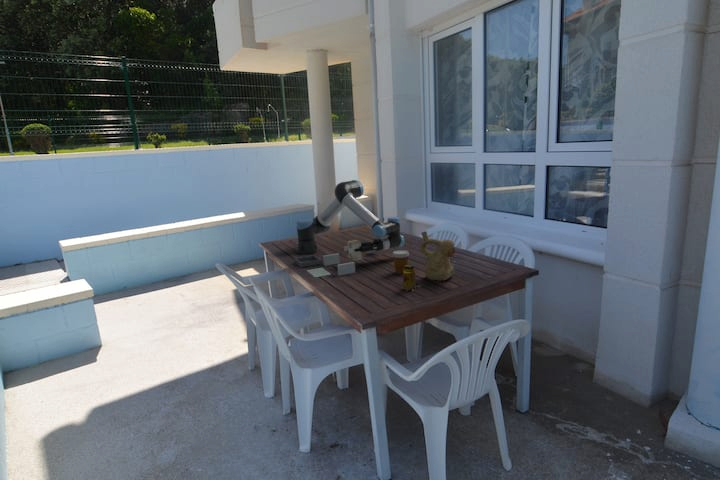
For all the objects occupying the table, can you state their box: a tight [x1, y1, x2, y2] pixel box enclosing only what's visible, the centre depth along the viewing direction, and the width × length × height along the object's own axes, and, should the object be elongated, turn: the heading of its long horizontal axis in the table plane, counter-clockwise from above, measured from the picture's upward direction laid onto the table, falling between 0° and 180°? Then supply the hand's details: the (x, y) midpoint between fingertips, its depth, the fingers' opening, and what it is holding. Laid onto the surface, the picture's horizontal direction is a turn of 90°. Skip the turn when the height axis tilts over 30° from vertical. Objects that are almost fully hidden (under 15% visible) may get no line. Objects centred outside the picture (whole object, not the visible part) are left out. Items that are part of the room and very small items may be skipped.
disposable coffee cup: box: [392, 249, 410, 275], centre depth 242 cm, size 10×10×12 cm
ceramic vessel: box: [420, 230, 457, 282], centre depth 228 cm, size 17×20×25 cm
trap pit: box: [294, 254, 324, 269], centre depth 272 cm, size 14×14×3 cm
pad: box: [305, 267, 332, 278], centre depth 252 cm, size 16×10×1 cm, turn 25°
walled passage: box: [322, 252, 356, 276], centre depth 257 cm, size 26×10×6 cm, turn 25°
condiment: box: [402, 264, 422, 292], centre depth 216 cm, size 7×8×12 cm
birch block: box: [347, 239, 363, 262], centre depth 259 cm, size 6×6×11 cm
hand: (346, 249), depth 257 cm, fingers closed on birch block, 6 cm apart
